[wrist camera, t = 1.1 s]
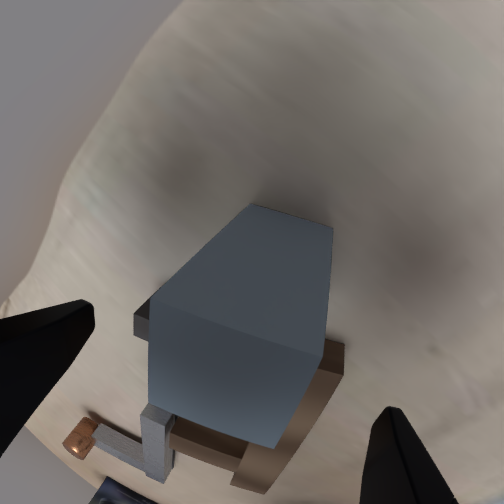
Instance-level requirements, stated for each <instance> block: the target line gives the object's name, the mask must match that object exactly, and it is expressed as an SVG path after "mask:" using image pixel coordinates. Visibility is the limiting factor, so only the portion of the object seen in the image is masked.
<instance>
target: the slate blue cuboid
mask: <svg viewBox="0 0 504 504" xmlns="http://www.w3.org/2000/svg"><path fill="white" fill-rule="evenodd" d="M332 240H333V228H331V227H328V226H324V225H321V224H318V223H315V222H311V221H308V220H305V219H302V218H298V217H295V216H292V215H288V214H285V213H281V212H278V211H275V210H271V209H268V208H264V207H261V206H257V205H254V204H249V205H248V206H247V207H246V208H245V209H244V210H243V211H242V212H240V213H239V214H238V215H237V216H236V217H235V218H234V219H233V220H232V221H231V222H230V223H229V224H227V225H226V226H225V227H224V228H223V229H222V230H221V231H220V232H219V233H218V234H217V235H216V236H215V237H214V238H212V239H211V240H210V241H209V242H208V243H207V244H206V245H205V246H204V247H203V248H202V249H201V250H200V251H199V252H198V253H197V254H195V255H194V256H193V257H192V258H191V259H190V260H189V261H188V262H187V263H186V264H185V265H184V266H183V267H182V268H181V269H180V270H179V271H178V272H177V273H176V274H175V275H174V276H172V277H171V278H170V279H169V280H168V281H167V282H166V283H165V284H164V285H163V286H162V287H161V288H160V289H159V290H158V291H157V292H156V293H155V294H154V295H153V296H152V297H151V298H150V313H149V344H148V403H150V404H153V405H155V406H157V407H159V408H161V409H164V410H166V411H168V412H171V413H173V414H175V415H178V416H180V417H182V418H185V419H187V420H190V421H192V422H195V423H197V424H200V425H203V426H205V427H208V428H211V429H213V430H216V431H219V432H222V433H225V434H227V435H230V436H233V437H236V438H239V439H242V440H245V441H249V442H252V443H255V444H258V445H262V446H265V447H268V448H272V449H274V448H275V446H276V445H277V443H278V441H279V440H280V438H281V436H282V434H283V432H284V431H285V429H286V427H287V425H288V424H289V422H290V420H291V418H292V416H293V414H294V413H295V411H296V409H297V407H298V405H299V403H300V401H301V399H302V397H303V396H304V394H305V392H306V390H307V388H308V386H309V384H310V382H311V380H312V378H313V376H314V374H315V372H316V370H317V368H318V366H319V364H320V362H321V360H322V357H323V350H324V341H325V331H326V321H327V311H328V299H329V287H330V273H331V258H332Z"/></svg>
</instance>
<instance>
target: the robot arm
mask: <svg viewBox="0 0 504 504" xmlns="http://www.w3.org/2000/svg"><path fill="white" fill-rule="evenodd" d="M94 328H95V317H94V307H93V305H92V304H91V303H89V302H87V301H85V300H83V299H80V300H76V301H72V302H68V303H64V304H60V305H56V306H52V307H47V308H43V309H39V310H35V311H31V312H27V313H23V314H19V315H15V316H11V317H7V318H3V319H0V458H1V456H2V454H3V453H4V452H5V450H6V449H7V448H8V446H9V445H10V443H11V442H12V441H13V439H14V438H15V437H16V435H17V434H18V432H19V431H20V430H21V428H22V427H23V426H24V424H25V423H26V422H27V420H28V419H29V418H30V416H31V415H32V414H33V413H34V411H35V410H36V409H37V407H38V406H39V405H40V403H41V402H42V401H43V400H44V398H45V397H46V396H47V395H48V393H49V392H50V391H51V389H52V388H53V387H54V386H55V384H56V383H57V382H58V381H59V379H60V378H61V377H62V376H63V375H64V373H65V372H66V371H67V369H68V368H69V367H70V366H71V364H72V363H73V361H74V360H75V358H76V357H77V355H78V354H79V352H80V351H81V349H82V347H83V346H84V344H85V343H86V341H87V340H88V338H89V337H90V335H91V334H92V332H93V331H94ZM359 504H459V503H458V502H457V500H456V498H454V495H453V493H452V491H451V490H450V488H449V486H448V485H447V483H446V481H445V480H444V478H443V476H442V475H441V473H440V471H439V470H438V468H437V466H436V465H435V463H434V461H433V460H432V458H431V456H430V455H429V453H428V451H427V450H426V448H425V447H424V445H423V443H422V442H421V440H420V438H419V437H418V435H417V434H416V432H415V430H414V429H413V427H412V426H411V424H410V422H409V421H408V419H407V418H406V416H405V415H404V413H403V411H402V410H401V409H400V408H396V407H391V406H388V407H386V408H385V409H384V410H383V412H382V413H381V414H380V415H379V417H378V418H377V419H376V421H375V422H374V424H373V426H372V428H371V433H370V439H369V444H368V450H367V455H366V460H365V465H364V470H363V476H362V484H361V494H360V502H359Z"/></svg>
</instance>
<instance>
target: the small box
mask: <svg viewBox="0 0 504 504" xmlns="http://www.w3.org/2000/svg"><path fill="white" fill-rule="evenodd" d="M89 504H157V503H155V502H153V501H151V500H149V499H147V498H145V497H143V496H141V495H139V494H137V493H136V492H134V491H132V490H130V489H128V488H126V487H125V486H123V485H121V484H120V483H118V482H116V481H115V480H113V479H111V478H110V477H108V476H107V477H106V479H105V480H104V482H103V483H102V485H101V486H100V488H99V489H98V491H97V492H96V494H95V495H94V497H93V498H92V500H91V501H90V503H89Z"/></svg>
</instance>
